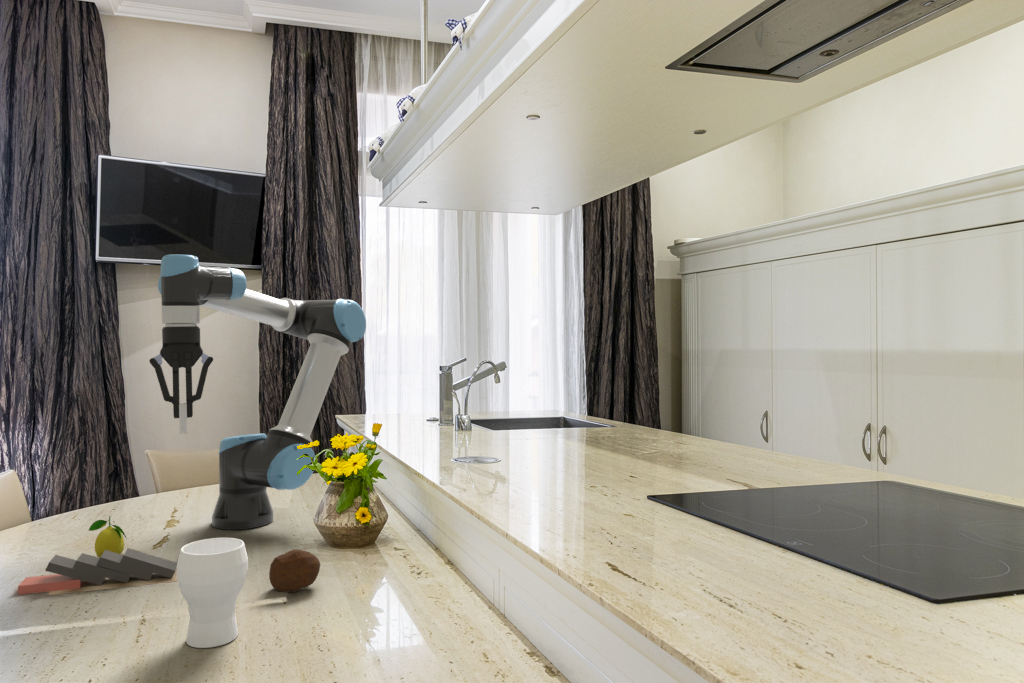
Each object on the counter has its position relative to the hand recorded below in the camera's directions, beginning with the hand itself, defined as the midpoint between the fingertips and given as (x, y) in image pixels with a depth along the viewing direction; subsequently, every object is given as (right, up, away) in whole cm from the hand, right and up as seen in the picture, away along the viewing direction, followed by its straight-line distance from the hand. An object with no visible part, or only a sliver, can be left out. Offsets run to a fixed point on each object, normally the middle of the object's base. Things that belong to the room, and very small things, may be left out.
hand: (183, 432), depth 154 cm
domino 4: (0, -26, -14) cm, 30 cm away
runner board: (-3, -28, -15) cm, 32 cm away
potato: (+30, -28, -19) cm, 46 cm away
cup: (+24, -28, -40) cm, 55 cm away
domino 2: (-7, -26, -17) cm, 32 cm away
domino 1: (-11, -26, -18) cm, 34 cm away
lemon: (-15, -28, -3) cm, 32 cm away
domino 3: (-3, -26, -15) cm, 31 cm away
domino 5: (+4, -26, -12) cm, 29 cm away
